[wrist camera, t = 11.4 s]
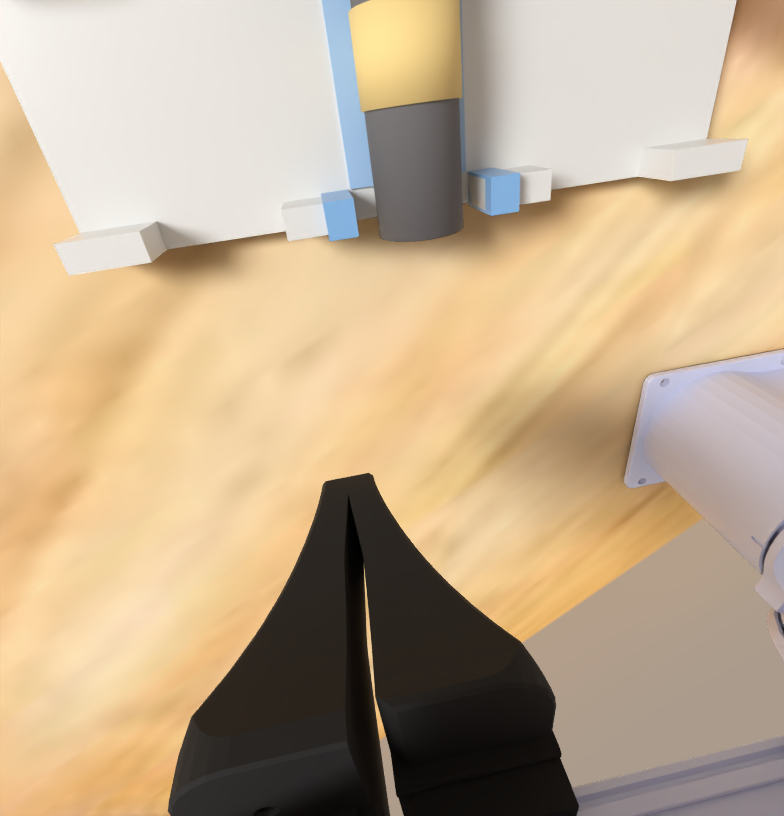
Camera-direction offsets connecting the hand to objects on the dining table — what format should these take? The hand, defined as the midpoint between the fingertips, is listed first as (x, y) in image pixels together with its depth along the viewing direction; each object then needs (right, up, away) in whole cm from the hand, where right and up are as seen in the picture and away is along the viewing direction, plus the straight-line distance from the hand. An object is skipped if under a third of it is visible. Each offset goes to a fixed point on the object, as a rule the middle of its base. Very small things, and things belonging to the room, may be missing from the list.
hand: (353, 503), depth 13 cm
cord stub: (+1, +14, +2) cm, 14 cm away
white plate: (+1, +15, +3) cm, 15 cm away
